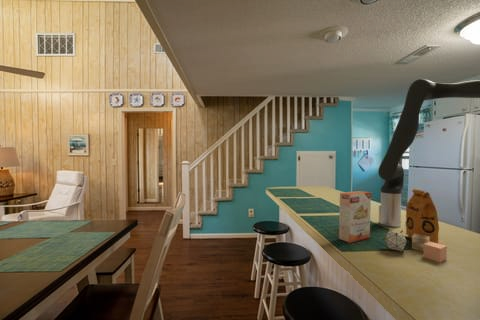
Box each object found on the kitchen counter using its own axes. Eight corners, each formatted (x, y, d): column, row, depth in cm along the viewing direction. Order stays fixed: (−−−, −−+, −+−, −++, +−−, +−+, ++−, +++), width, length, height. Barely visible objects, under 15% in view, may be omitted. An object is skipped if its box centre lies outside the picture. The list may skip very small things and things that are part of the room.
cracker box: (350, 243, 101) (350, 194, 100) (338, 239, 106) (338, 192, 105) (371, 238, 107) (371, 192, 106) (359, 234, 112) (359, 190, 112)
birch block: (411, 248, 95) (412, 236, 95) (414, 245, 99) (414, 233, 99) (427, 252, 92) (427, 239, 92) (429, 248, 95) (429, 236, 95)
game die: (389, 258, 95) (373, 234, 99) (407, 250, 95) (391, 226, 100) (399, 256, 87) (382, 230, 92) (420, 247, 87) (401, 221, 92)
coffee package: (414, 244, 99) (415, 192, 99) (402, 235, 111) (403, 188, 111) (443, 247, 97) (444, 193, 96) (427, 237, 108) (428, 189, 108)
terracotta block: (423, 257, 87) (423, 243, 87) (429, 254, 90) (430, 241, 90) (440, 262, 83) (440, 248, 83) (446, 259, 85) (446, 245, 85)
